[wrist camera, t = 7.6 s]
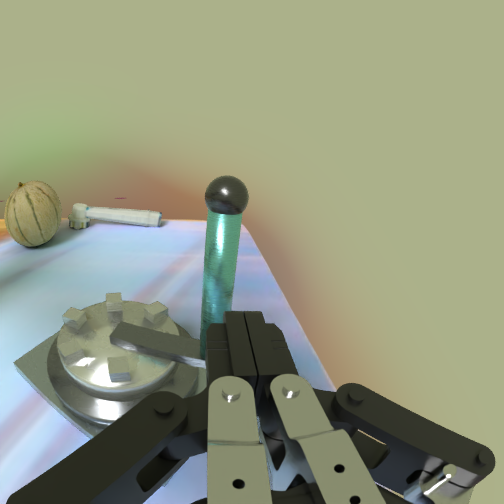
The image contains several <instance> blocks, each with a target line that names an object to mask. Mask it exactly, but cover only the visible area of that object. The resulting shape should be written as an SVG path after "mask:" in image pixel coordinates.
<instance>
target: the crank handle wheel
mask: <svg viewBox="0 0 504 504" xmlns="http://www.w3.org/2000/svg"><path fill="white" fill-rule="evenodd" d="M248 198H249V195H248V191H247V188H246V186H245V185H244V183H243V182H242V181H241V180H239V179H238V178H236V177H233V176H221V177H218V178H216V179H214V180H213V181H212V182H211V183H210V184H209V186H208V187H207V190H206V193H205V202H206V205H207V207H208V217H207V229H206V242H205V256H204V272H203V289H202V308H201V332H200V340H197V339H192V338H187V337H183V336H179V332H178V329H177V327H176V325H175V323H174V322H173V320H172V319H171V318H170V317H169V316H168V308H167V307H165V306H164V305H162V304H161V303H160V302H158V301H157V302H155V303H152V304H150V305H147V304H143V303H139V302H133V301H122V299H121V293H108V294H106V302H103V303H98V304H95V305H92V306H89V307H86V308H84V309H82V310H78V309H75V308H72V307H71V308H70V309H69V310H68V311H67V312H66V313H65V314H64V315H63V316H62V317H63V321H64V325H63V326H62V328H61V330H60V332H59V335H58V339H57V349H58V353H59V356H60V359H61V362H62V364H63V367H64V370H65V372H66V375H67V376H68V378H69V380H70V381H71V382H72V383H73V384H74V385H75V386H76V387H77V388H78V389H79V390H81V391H82V392H84V393H85V394H87V395H89V396H92V397H94V398H97V399H101V400H106V401H114V402H124V401H132V400H137V399H141V398H144V397H146V396H148V395H149V394H151V393H154V392H157V391H159V390H160V389H161V388H163V387H164V386H165V385H166V384H167V383H168V382H169V381H170V380H171V379H172V378H173V376H174V375H175V373H176V371H177V369H178V366H179V363H183V364H187V365H191V366H196V367H200V368H205V369H206V365H205V349H206V331H207V329H208V327H209V326H210V324H211V323H223V313H224V311H231V306H232V297H233V288H234V280H235V271H236V262H237V254H238V245H239V237H240V229H241V220H242V213H243V211H244V210H245V208H246V206H247V204H248Z"/></svg>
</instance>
